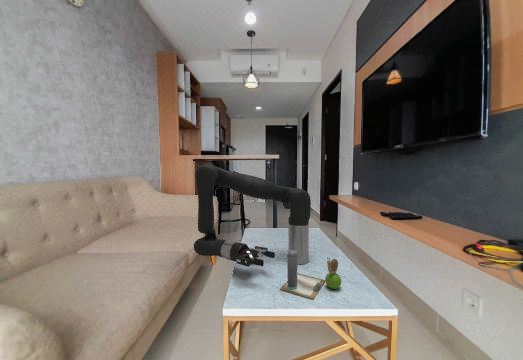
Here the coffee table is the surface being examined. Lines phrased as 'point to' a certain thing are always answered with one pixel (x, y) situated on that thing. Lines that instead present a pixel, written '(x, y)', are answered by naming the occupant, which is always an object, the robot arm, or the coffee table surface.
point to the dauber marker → (292, 269)
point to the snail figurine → (332, 274)
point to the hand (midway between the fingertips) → (269, 259)
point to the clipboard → (305, 286)
